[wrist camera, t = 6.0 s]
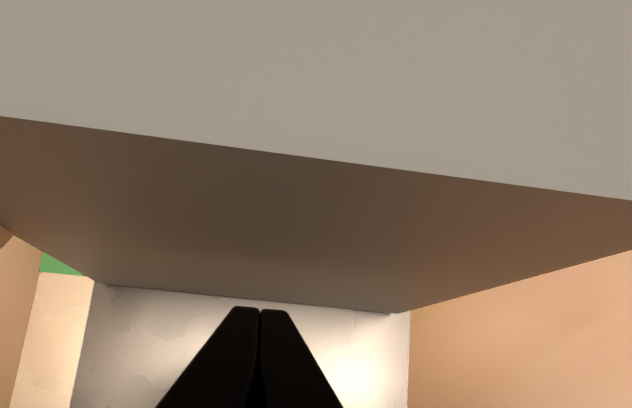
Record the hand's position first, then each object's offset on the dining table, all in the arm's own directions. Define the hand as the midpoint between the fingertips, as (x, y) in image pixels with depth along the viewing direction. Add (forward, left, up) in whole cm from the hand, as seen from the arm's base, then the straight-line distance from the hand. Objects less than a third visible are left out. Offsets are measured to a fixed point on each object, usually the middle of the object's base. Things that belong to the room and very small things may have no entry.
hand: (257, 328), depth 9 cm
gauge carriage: (+2, +2, -6) cm, 7 cm away
